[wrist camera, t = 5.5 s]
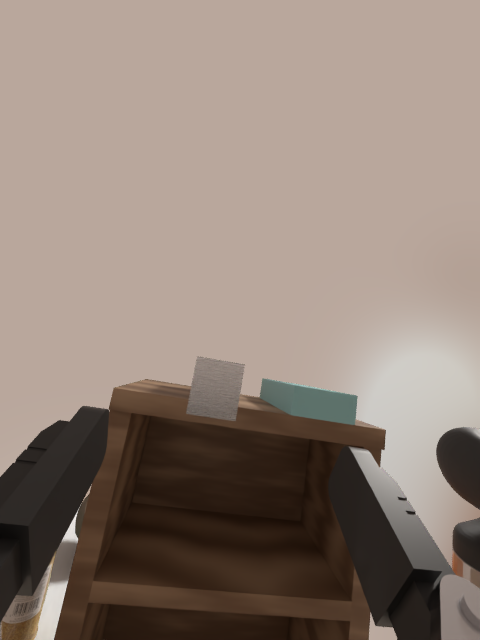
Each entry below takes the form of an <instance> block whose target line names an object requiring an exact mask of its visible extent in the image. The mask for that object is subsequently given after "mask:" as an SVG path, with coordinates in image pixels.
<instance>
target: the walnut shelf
mask: <svg viewBox="0 0 480 640" xmlns="http://www.w3.org/2000/svg"><path fill="white" fill-rule="evenodd" d="M190 391H191V386H186V385H179V384H172V383H166V382H160V381H154V380H148V379H145V380H142V381H138V382H134V383H130V384H126V385H123V386H119V387H115V388H114V390H113V394H112V398H111V402H110V406H109V410H110V412H109V424H108V438H107V448H106V453H105V456H104V459H103V462H102V465H101V467H100V469H99V471H98V473H97V475H96V476H95V478H94V480H93V482H92V486H91V490H90V494H89V498H88V502H87V506H86V511H85V515H84V519H83V523H82V527H81V531H80V535H79V539H78V543H77V547H76V552H75V556H74V560H73V564H72V568H71V572H70V576H69V580H68V584H67V589H66V593H65V597H64V601H63V605H62V609H61V613H60V617H59V621H58V626H57V630H56V634H55V638H54V640H369V625H370V624H369V623H370V609H369V606H368V603H367V600H366V598H365V595H364V592H363V589H362V587H361V584H360V581H359V578H358V575H357V573H356V570H355V567H354V564H353V562H352V559H351V556H350V553H349V550H348V548H347V545H346V542H345V539H344V537H343V534H342V531H341V528H340V525H339V523H338V520H337V517H336V514H335V512H334V509H333V506H332V503H331V500H330V497H329V493H328V481H329V477H330V475H331V472H332V470H333V468H334V465H335V463H336V461H337V458H338V456H339V454H340V451H341V449H342V448H343V447H345V446H348V447H355V448H362V449H367V450H368V451H369V452H370V453H371V454H372V456H373V458H374V459H375V461H376V463H377V464H378V466H379V467H380V461H381V449H382V450H384V449H385V448H384V447H385V434H386V430H384V429H382V428H379V427H376V426H373V425H370V424H367V423H364V422H362V421H359V420H356V419H355V425H351V424H344V423H338V422H331V421H325V420H318V419H312V418H305V417H299V416H293V415H289V414H288V413H286V412H284V411H282V410H280V409H279V408H277V407H275V406H273V405H272V404H270V403H268V402H266V401H264V400H263V399H261V398H260V397H254V396H248V395H242V394H240V397H239V403H238V410H237V416H236V421H230V420H223V419H217V418H210V417H203V416H197V415H190V414H186V411H187V406H188V401H189V396H190Z"/></svg>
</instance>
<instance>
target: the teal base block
mask: <svg viewBox="0 0 480 640" xmlns="http://www.w3.org/2000/svg"><path fill="white" fill-rule="evenodd" d="M260 398H261V399H263V400H264V401H266V402H268V403H270V404H272V405H273V406H275V407H277V408H279V409H280V410H282V411H284V412H286V413H288V414H289V415H293V416H299V417H305V418H312V419H318V420H325V421H331V422H338V423H344V424H351V425H355V418H356V406H357V396H356V395H350V394H345V393H340V392H335V391H330V390H325V389H320V388H315V387H310V386H304V385H299V384H293V383H287V382H281V381H275V380H269V379H262V386H261V393H260Z"/></svg>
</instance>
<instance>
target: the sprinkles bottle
mask: <svg viewBox="0 0 480 640" xmlns="http://www.w3.org/2000/svg"><path fill="white" fill-rule="evenodd" d="M55 554H56V552H55ZM55 554H54V556H53V558H52V560H51V562H50V564H49V566H48V568H47V570H46V571H45V573H44V575H43V577H42V579H41V581H40V583H39V585H38V587H37V588H36V590H35V592H34V594H33V596H21V595H16V596H15V598H14V600H13V602H12V603H11V605H10V607H9V609H8V610H7V612H6V614H5V616H4V617H3V619H2V621H1V631H2V640H33V639H34V638H35V637H36V634H37V631H38V622H39V618H40V615H41V611H42V607H43V603H44V601H45V597H46V594H47V590H48V586H49V582H50V577H51V571H52V567H53V563H54V559H55Z"/></svg>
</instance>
